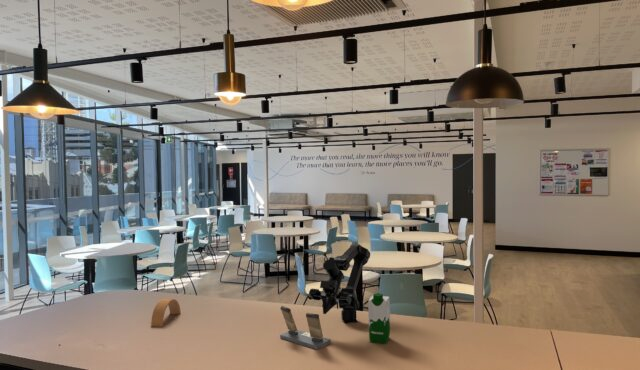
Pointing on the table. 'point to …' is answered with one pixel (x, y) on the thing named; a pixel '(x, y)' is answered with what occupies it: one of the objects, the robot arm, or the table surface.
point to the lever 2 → (314, 325)
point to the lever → (288, 318)
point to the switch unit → (305, 339)
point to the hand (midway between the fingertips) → (324, 313)
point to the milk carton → (379, 318)
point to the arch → (160, 310)
